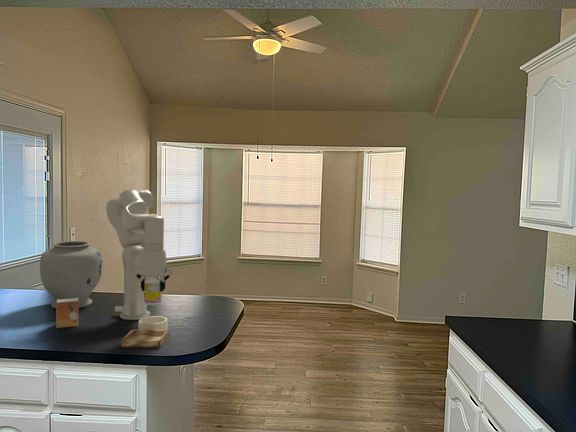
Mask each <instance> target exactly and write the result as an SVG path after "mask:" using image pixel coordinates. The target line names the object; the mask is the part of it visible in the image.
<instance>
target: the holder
mask: <svg viewBox="0 0 576 432" xmlns="http://www.w3.org/2000/svg"><path fill="white" fill-rule="evenodd" d="M137 322H138V325H137V326H138V328H137V330H169V319H168V318H167V317H166V316H160V315H150V316H149V317H145V318H141V319H138V321H137Z"/></svg>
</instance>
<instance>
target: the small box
mask: <svg viewBox="0 0 576 432" xmlns="http://www.w3.org/2000/svg"><path fill="white" fill-rule="evenodd" d="M55 313H56V318H55V319H56V320H55V321H56V326H55V327H56V329H59V328H71V327H79V308H78V298H74V299H62V300H57V308H56V312H55Z"/></svg>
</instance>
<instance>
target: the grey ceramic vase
mask: <svg viewBox="0 0 576 432" xmlns="http://www.w3.org/2000/svg"><path fill="white" fill-rule="evenodd" d="M90 245H91V243H90V242H88V241H81V240H80V241H79V240H77V241H76V240H71V241H70V240H68V241H67V240H66V241H57V242H55V243H53V244H52V246H53V247H52V248H49V249H47V250H45V251H43V252H42V254H41V255H40V258H39V259H40V260H39V261H40V262H39V274H40V280H41V283H42V285H43V288H44V289H45V290H46V291H47V292H48V294H49V295H50V296H51V297H52V298H54V301H53V302H52V303H51V308H53V309H57V300H62V299H74V298H78V309H80V308H84V307H88V306H90V305H92V304H93V299H92V298H89V297H90V295H91V294H92V292H94V290H95V288H96V287H97V286H98V284H99V282H100V280H101V278H102V277H101V276H102V271H103V257H102V254H101V253H102V252H101V251H100V250H99V249H97V248H94V247H91V246H90Z"/></svg>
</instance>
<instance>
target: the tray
mask: <svg viewBox="0 0 576 432" xmlns="http://www.w3.org/2000/svg"><path fill="white" fill-rule="evenodd" d="M169 336H170V330H169V329H167V330H138V328H137V329H135V328H134V329H131V330H130V331H129V332H128V333H127V334H126V335H125V336H124V337H123V338H122V339H121V340H120V348H159V349H160V348H161V347H162V346H163V345H164V343H165V342H166V340H167V339H168V338H169Z"/></svg>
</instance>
